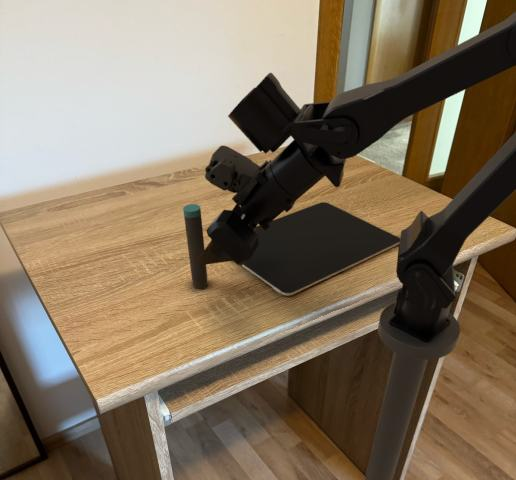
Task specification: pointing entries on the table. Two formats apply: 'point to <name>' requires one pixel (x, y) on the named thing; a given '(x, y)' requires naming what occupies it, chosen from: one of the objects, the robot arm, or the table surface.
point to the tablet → (314, 247)
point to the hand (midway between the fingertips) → (212, 245)
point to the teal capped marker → (195, 244)
